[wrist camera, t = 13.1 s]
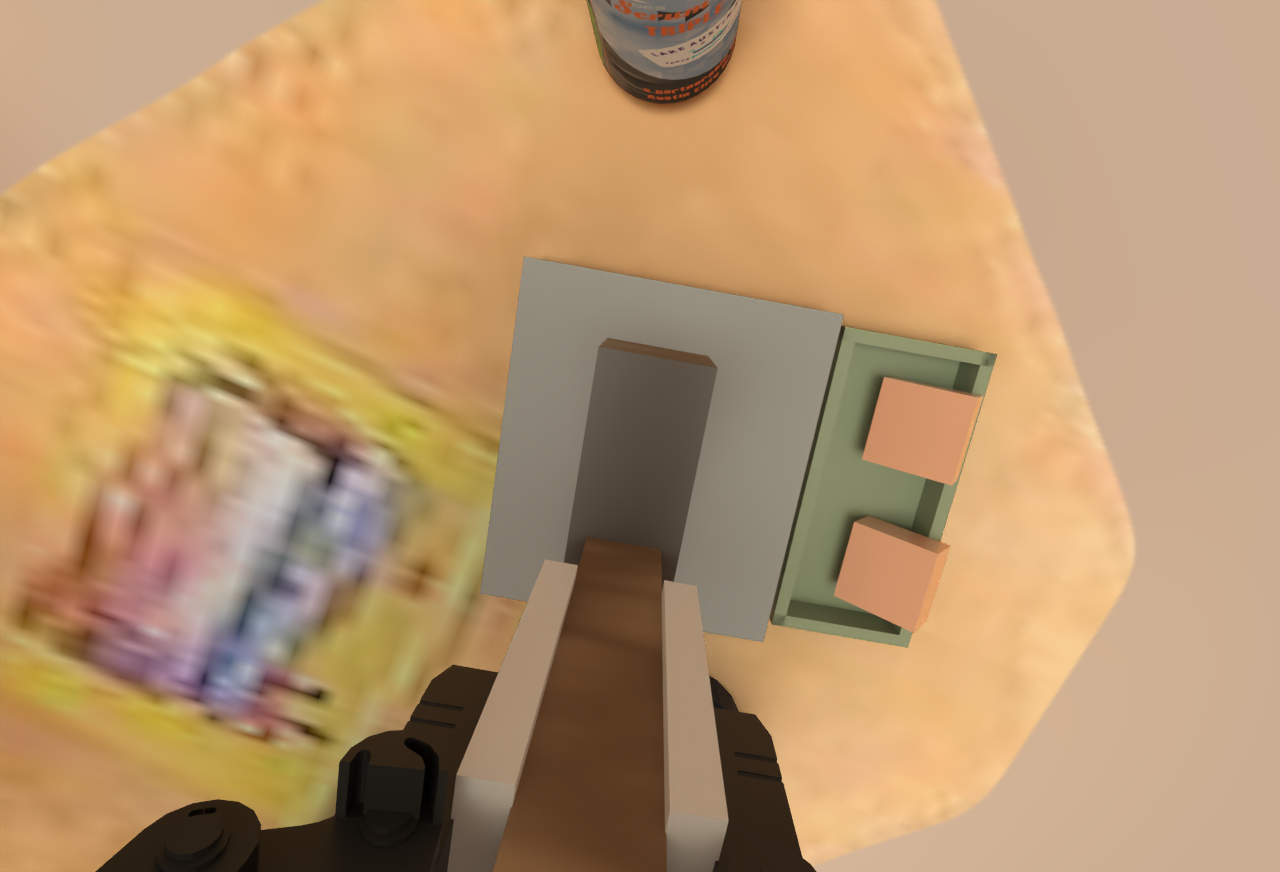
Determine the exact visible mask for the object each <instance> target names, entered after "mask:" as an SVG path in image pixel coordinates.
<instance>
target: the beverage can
mask: <svg viewBox="0 0 1280 872" xmlns="http://www.w3.org/2000/svg"><path fill="white" fill-rule="evenodd" d="M741 3H742V0H587V5H588V9H589V13H590V17H591V21H592V25H593V29H594V34H595V38H596V42H597V46H598V50H599V54H600V57H601V59H602V62H603V64H604V66H605V68H606V70H607V71H608V73H609V75H610V76H611V77H612V78H613V80H614V81H615V82H616V83H617V84H618V85H619V86H620V87H621V88H623V89H624V90H625V91H626V92H628V93H629V94H631V95H633V96H635V97H637V98H639V99H642V100H645V101H648V102H654V103H675V102H679V101H684V100H687V99H689V98H691V97H694V96H696V95H698V94H699V93H701V92H702V91H704V90H705V89H707V88H708V87H709V86H710V85H711V84H712V83H714V82H715V81H716V80H717V78H718V77H719V76H720V75H721V73H722V72H723V71H724V69H725V67H726V66H727V64H728V62H729V60H730V58H731V55H732V52H733V49H734V46H735V41H736V34H737V28H738V22H739V16H740V10H741Z"/></svg>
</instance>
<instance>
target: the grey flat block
mask: <svg viewBox="0 0 1280 872" xmlns="http://www.w3.org/2000/svg"><path fill="white" fill-rule="evenodd" d="M843 316H844V314H838V313H833V312H827V311H822V310H816V309H811V308H805V307H800V306H794V305H789V304H783V303H778V302H772V301H767V300H761V299H756V298H750V297H745V296H739V295H734V294H728V293H723V292H717V291H712V290H706V289H701V288H695V287H690V286H684V285H679V284H673V283H668V282H662V281H657V280H651V279H646V278H640V277H635V276H629V275H624V274H618V273H613V272H607V271H602V270H596V269H591V268H585V267H580V266H574V265H569V264H563V263H558V262H552V261H547V260H541V259H536V258H530V257H525V256H524V260H523V268H522V275H521V283H520V291H519V298H518V306H517V314H516V322H515V329H514V337H513V345H512V352H511V360H510V368H509V375H508V383H507V391H506V399H505V406H504V414H503V422H502V429H501V437H500V445H499V452H498V460H497V468H496V475H495V483H494V491H493V499H492V506H491V514H490V522H489V529H488V537H487V545H486V552H485V560H484V568H483V576H482V583H481V591H480V594H485V595H491V596H497V597H503V598H509V599H514V600H520V601H526V602H528V600H529V597H530V595H531V592H532V590H533V588H534V585H535V583H536V580H537V578H538V575H539V573H540V571H541V568H542V566H543V563H544V561H545V560H551V561H557V562H562V563H564V558H565V552H566V546H567V539H568V533H569V527H570V521H571V514H572V508H573V502H574V496H575V490H576V483H577V477H578V471H579V465H580V459H581V452H582V446H583V440H584V434H585V427H586V421H587V415H588V409H589V403H590V396H591V390H592V384H593V378H594V371H595V365H596V359H597V353H598V347H599V346H600V345H601V344H602V343H603V342H604V341H605V340H606V339H607V338H612V339H617V340H623V341H629V342H634V343H640V344H645V345H651V346H656V347H662V348H667V349H673V350H679V351H684V352H690V353H695V354H701V355H706V356H709V358H710V359H711V360H712V361H713V363H714V364H715V365H716V367H717V368H718V369H717V374H716V379H715V384H714V389H713V393H712V398H711V403H710V408H709V413H708V418H707V423H706V428H705V432H704V437H703V442H702V447H701V452H700V457H699V462H698V467H697V471H696V476H695V481H694V486H693V491H692V496H691V501H690V506H689V510H688V515H687V520H686V525H685V530H684V535H683V540H682V545H681V549H680V554H679V559H678V564H677V569H676V574H675V579H674V582H677V583H683V584H688V585H694V586H697V590H698V597H699V605H700V612H701V619H702V627H703V632H707V633H713V634H718V635H724V636H730V637H736V638H742V639H748V640H753V641H759V642H763V641H764V637H765V633H766V629H767V625H768V621H769V617H770V613H771V609H772V605H773V601H774V596H775V592H776V588H777V584H778V580H779V576H780V572H781V568H782V564H783V560H784V556H785V552H786V548H787V544H788V540H789V536H790V531H791V527H792V523H793V519H794V515H795V511H796V507H797V503H798V499H799V495H800V491H801V487H802V483H803V479H804V475H805V470H806V466H807V462H808V458H809V454H810V450H811V446H812V442H813V438H814V434H815V430H816V426H817V422H818V418H819V414H820V409H821V405H822V401H823V397H824V393H825V389H826V385H827V381H828V377H829V373H830V369H831V365H832V361H833V357H834V353H835V349H836V344H837V340H838V336H839V332H840V328H841V324H842V320H843Z"/></svg>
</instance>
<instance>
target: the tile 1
mask: <svg viewBox="0 0 1280 872" xmlns="http://www.w3.org/2000/svg"><path fill="white" fill-rule="evenodd" d="M949 549H950V545H947V544H945V543H942V542H939V541H936V540H934V539H931V538H928V537H926V536H923V535H920V534H918V533H915V532H912V531H910V530H907V529H904V528H902V527H899V526H896V525H894V524H891V523H888V522H885V521H883V520H880V519H877V518H875V517H872V516H867V517H864V518H862V519H859V520H857V521H855V522H854V524H853V528H852V531H851V535H850V539H849V542H848V546H847V549H846V553H845V557H844V560H843V564H842V567H841V571H840V575H839V578H838V582H837V585H836V589H835V593H834V596H836V597H838V598H840V599H842V600H844V601H846V602H849V603H851V604H853V605H855V606H857V607H859V608H861V609H863V610H866V611H868V612H870V613H872V614H874V615H876V616H878V617H881V618H883V619H885V620H887V621H889V622H891V623H893V624H896V625H898V626H900V627H902V628H904V629H906V630H908V631H910V632H913V633H914V632H915V631H916V630H917V629H919V628H920V627H921V626H922V625H923V624H924V623H925V622H926V621H927V618H928V615H929V612H930V608H931V605H932V602H933V599H934V596H935V593H936V590H937V586H938V583H939V580H940V577H941V574H942V571H943V567H944V564H945V561H946V558H947V555H948V552H949Z"/></svg>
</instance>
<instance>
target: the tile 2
mask: <svg viewBox="0 0 1280 872" xmlns="http://www.w3.org/2000/svg"><path fill="white" fill-rule="evenodd" d="M982 399H983V396H981V395H977V394H972V393H968V392H963V391H959V390H954V389H949V388H945V387H940V386H936V385H931V384H927V383H922V382H917V381H913V380H908V379H904V378H899V377H895V376H891V377H884V379H883V383H882V386H881V390H880V394H879V398H878V401H877V405H876V409H875V412H874V416H873V420H872V424H871V427H870V431H869V435H868V438H867V442H866V446H865V450H864V453H863V457H862V460H865V461H869V462H872V463H876V464H879V465H883V466H886V467H889V468H893V469H896V470H900V471H903V472H907V473H910V474H913V475H917V476H920V477H924V478H927V479H931V480H934V481H937V482H941V483H944V484H948V485H951V486H952V485H953V484H954V483H955V481H956V480H957V479H958V477H959V473H960V470H961V467H962V464H963V460H964V457H965V454H966V451H967V447H968V444H969V441H970V438H971V434H972V431H973V428H974V425H975V421H976V418H977V415H978V412H979V408H980V405H981V402H982Z"/></svg>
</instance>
